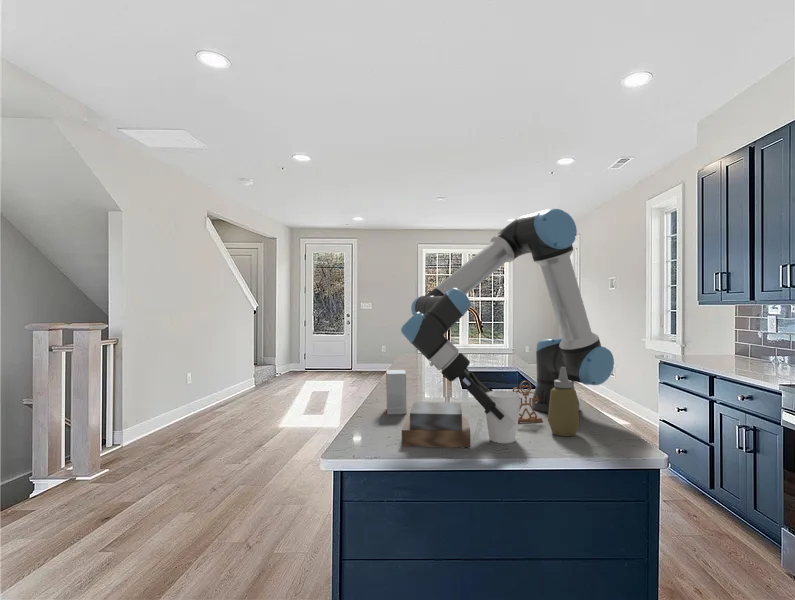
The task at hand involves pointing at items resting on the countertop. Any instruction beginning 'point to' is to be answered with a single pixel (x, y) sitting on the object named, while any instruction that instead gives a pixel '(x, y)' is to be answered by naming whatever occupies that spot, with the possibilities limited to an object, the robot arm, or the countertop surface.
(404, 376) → the small box
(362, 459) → the countertop surface
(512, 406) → the cup
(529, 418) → the gingerbread man figurine
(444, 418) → the stepped display pedestal
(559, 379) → the squeeze bottle
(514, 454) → the countertop surface
